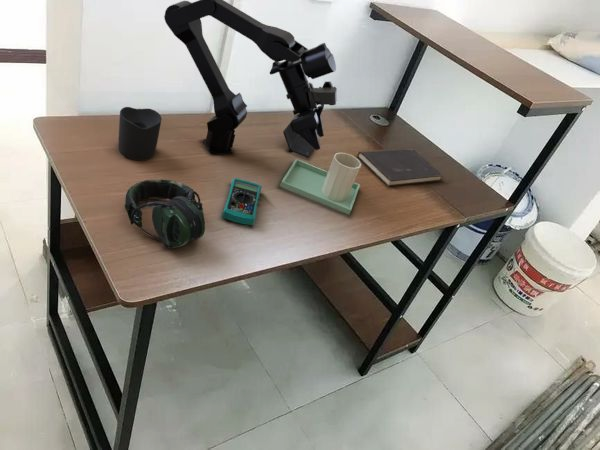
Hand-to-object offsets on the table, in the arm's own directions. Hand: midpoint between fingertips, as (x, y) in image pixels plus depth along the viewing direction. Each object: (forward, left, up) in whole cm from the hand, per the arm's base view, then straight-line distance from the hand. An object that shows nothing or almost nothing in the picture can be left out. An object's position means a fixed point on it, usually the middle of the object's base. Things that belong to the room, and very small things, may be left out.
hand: (320, 142), depth 131 cm
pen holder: (-40, +17, -13) cm, 46 cm away
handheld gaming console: (+8, +18, -13) cm, 24 cm away
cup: (+6, -6, -12) cm, 15 cm away
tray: (+3, -3, -13) cm, 13 cm away
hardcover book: (+38, +4, -13) cm, 40 cm away
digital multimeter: (-22, -7, -13) cm, 27 cm away
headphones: (-42, -11, -13) cm, 46 cm away
